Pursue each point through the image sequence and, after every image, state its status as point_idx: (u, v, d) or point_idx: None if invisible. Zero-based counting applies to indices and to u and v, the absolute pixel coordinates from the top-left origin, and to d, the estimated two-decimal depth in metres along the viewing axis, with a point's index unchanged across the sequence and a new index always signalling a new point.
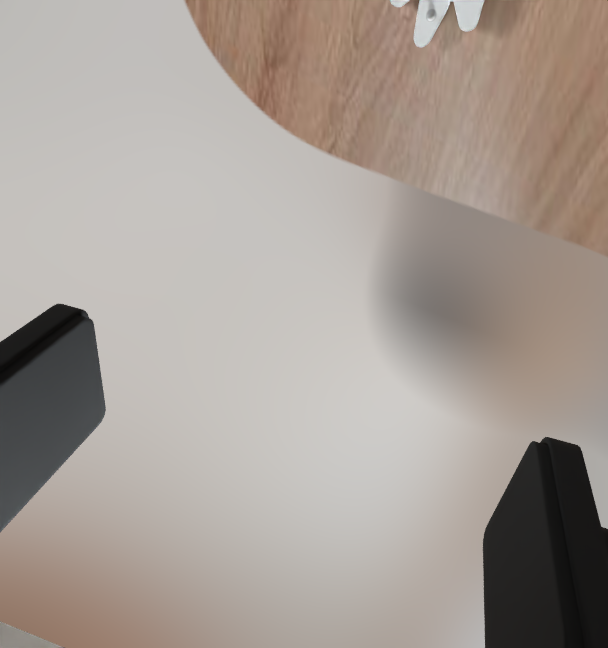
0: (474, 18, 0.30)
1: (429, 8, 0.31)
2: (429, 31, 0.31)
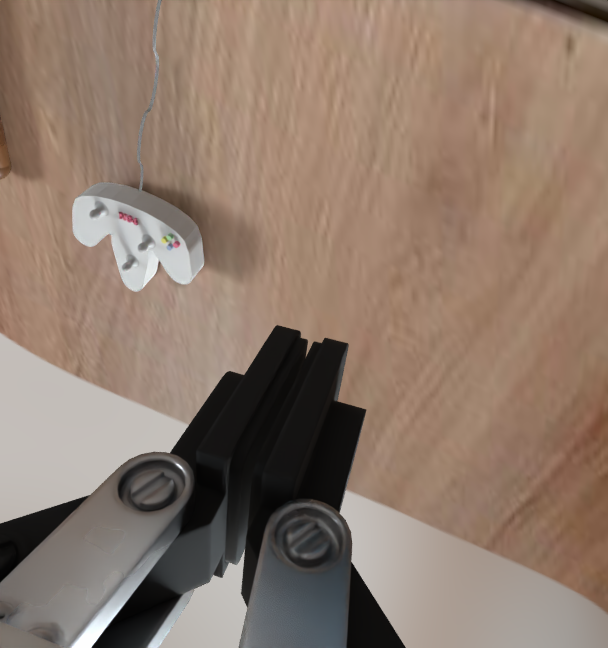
0: (185, 272, 0.21)
1: (126, 253, 0.22)
2: (137, 277, 0.22)
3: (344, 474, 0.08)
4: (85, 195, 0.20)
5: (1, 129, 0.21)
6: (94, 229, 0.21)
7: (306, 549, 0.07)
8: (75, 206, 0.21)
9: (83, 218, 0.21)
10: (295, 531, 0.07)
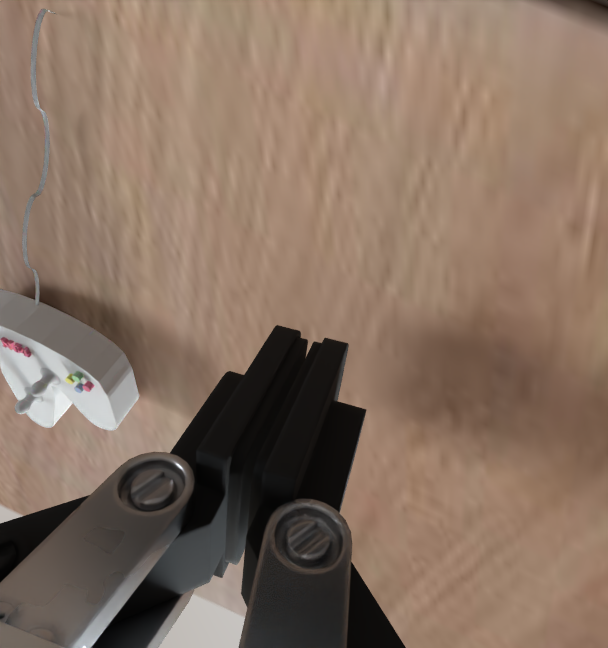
0: (107, 418, 0.14)
1: (24, 386, 0.15)
2: (44, 413, 0.16)
3: (344, 475, 0.08)
4: None
5: None
6: None
7: (306, 549, 0.07)
8: None
9: None
10: (295, 531, 0.07)
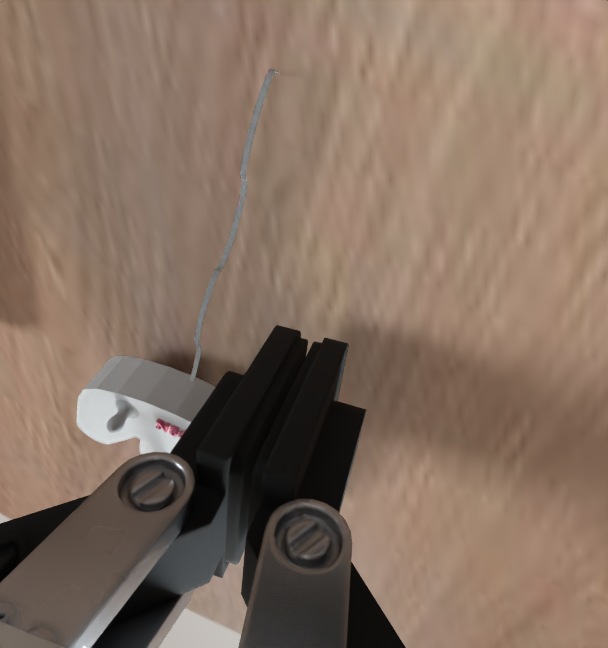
0: None
1: None
2: None
3: (344, 474, 0.08)
4: (100, 388, 0.12)
5: None
6: None
7: (306, 549, 0.07)
8: (83, 398, 0.13)
9: (95, 412, 0.13)
10: (295, 531, 0.07)
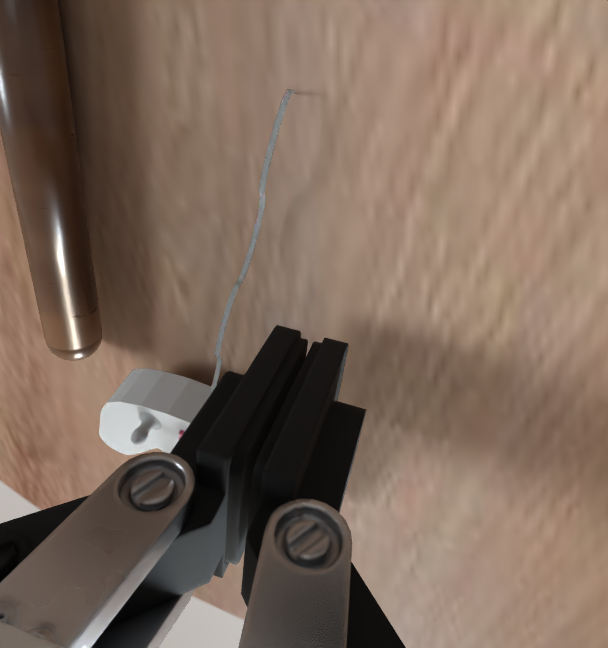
0: None
1: None
2: None
3: (344, 475, 0.08)
4: (124, 401, 0.12)
5: (94, 286, 0.12)
6: None
7: (306, 549, 0.07)
8: (105, 410, 0.13)
9: (118, 424, 0.13)
10: (295, 531, 0.07)
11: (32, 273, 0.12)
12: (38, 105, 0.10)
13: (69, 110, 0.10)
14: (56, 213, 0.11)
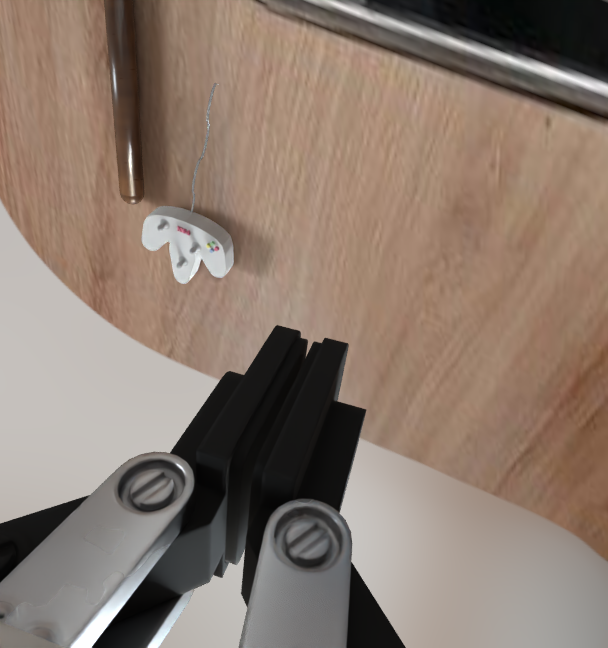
0: (221, 269, 0.30)
1: (179, 256, 0.30)
2: (185, 273, 0.31)
3: (344, 474, 0.08)
4: (154, 214, 0.29)
5: (142, 168, 0.30)
6: (157, 238, 0.30)
7: (306, 550, 0.07)
8: (145, 222, 0.30)
9: (150, 230, 0.30)
10: (295, 531, 0.07)
11: (118, 159, 0.29)
12: (128, 89, 0.27)
13: (137, 91, 0.27)
14: (130, 132, 0.28)
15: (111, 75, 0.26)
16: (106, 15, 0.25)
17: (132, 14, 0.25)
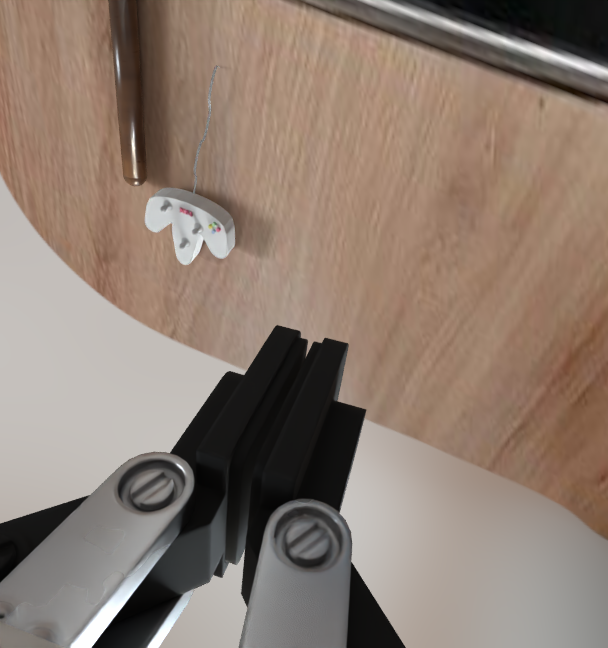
0: (223, 249, 0.31)
1: (182, 237, 0.31)
2: (188, 254, 0.32)
3: (344, 474, 0.08)
4: (157, 196, 0.30)
5: None
6: (160, 219, 0.31)
7: (306, 549, 0.07)
8: (148, 204, 0.30)
9: (153, 212, 0.31)
10: (295, 531, 0.07)
11: (121, 141, 0.29)
12: (130, 72, 0.27)
13: (140, 74, 0.28)
14: (133, 114, 0.28)
15: (114, 58, 0.27)
16: None
17: None
